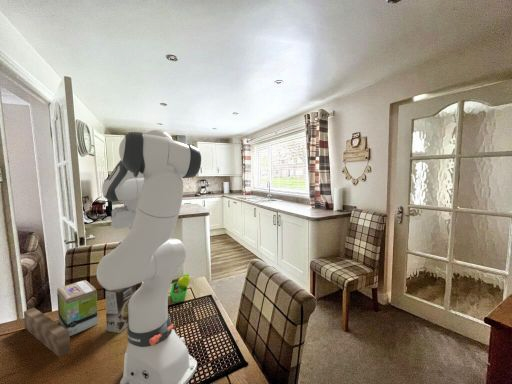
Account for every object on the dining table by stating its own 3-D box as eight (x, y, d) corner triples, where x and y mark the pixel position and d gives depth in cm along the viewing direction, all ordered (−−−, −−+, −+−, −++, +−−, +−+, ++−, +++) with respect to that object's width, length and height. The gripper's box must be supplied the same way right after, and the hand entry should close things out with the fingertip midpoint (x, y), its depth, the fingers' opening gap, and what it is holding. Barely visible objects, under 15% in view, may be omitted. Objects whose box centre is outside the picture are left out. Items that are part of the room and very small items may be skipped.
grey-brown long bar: (70, 351, 75) (69, 331, 74) (59, 357, 72) (58, 337, 71) (35, 324, 89) (34, 307, 88) (24, 328, 86) (23, 311, 86)
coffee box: (120, 333, 83) (118, 292, 82) (106, 331, 84) (104, 290, 83) (137, 318, 92) (136, 281, 91) (124, 316, 93) (123, 280, 92)
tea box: (99, 324, 88) (97, 288, 88) (67, 338, 81) (64, 300, 80) (87, 310, 98) (85, 278, 97) (57, 322, 90) (55, 287, 89)
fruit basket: (173, 292, 113) (172, 271, 112) (190, 290, 115) (190, 269, 115) (169, 304, 102) (169, 281, 101) (189, 301, 104) (188, 279, 104)
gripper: (115, 208, 90) (117, 240, 91) (158, 203, 108) (159, 230, 109) (107, 207, 93) (108, 238, 94) (150, 202, 111) (151, 229, 112)
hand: (136, 234), depth 102 cm, fingers closed
